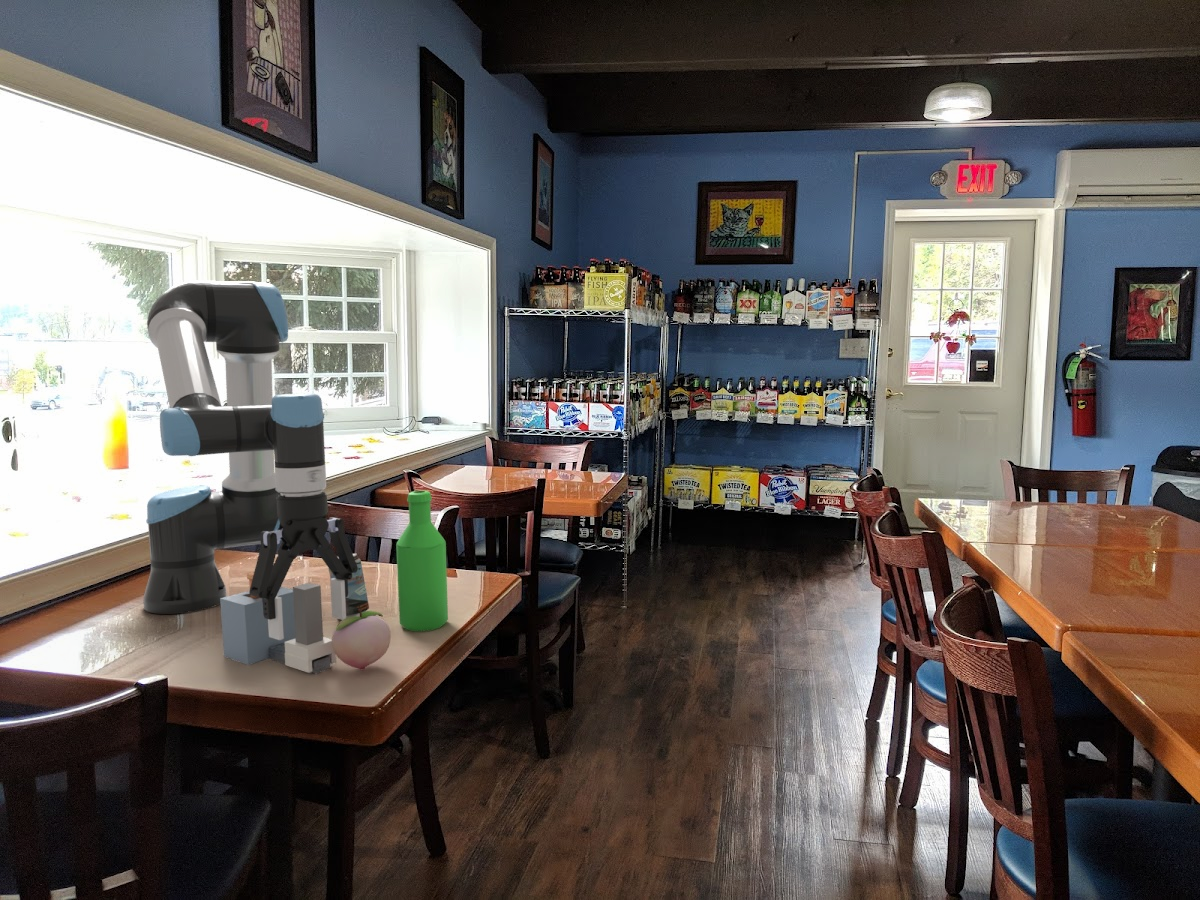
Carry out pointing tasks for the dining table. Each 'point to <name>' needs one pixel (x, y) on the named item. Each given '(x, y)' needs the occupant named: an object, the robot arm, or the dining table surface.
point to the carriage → (307, 630)
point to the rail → (317, 664)
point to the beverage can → (355, 591)
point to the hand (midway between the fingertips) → (308, 627)
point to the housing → (252, 626)
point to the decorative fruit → (361, 639)
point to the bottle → (421, 569)
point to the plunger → (250, 577)
